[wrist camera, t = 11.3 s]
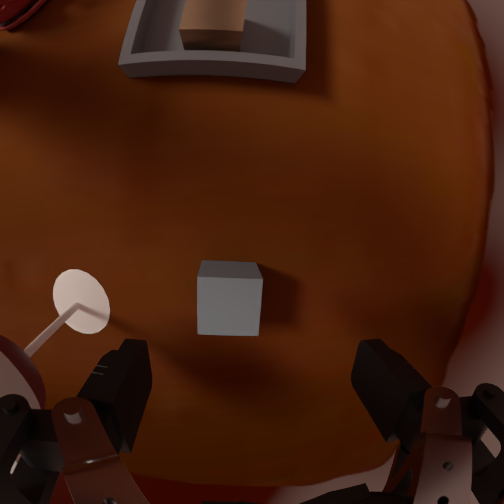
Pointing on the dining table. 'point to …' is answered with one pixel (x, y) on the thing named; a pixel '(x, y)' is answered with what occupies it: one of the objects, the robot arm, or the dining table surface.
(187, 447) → the dining table surface
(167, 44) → the tray
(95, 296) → the wineglass
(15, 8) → the plant pot
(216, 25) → the walnut block
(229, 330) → the slate block
